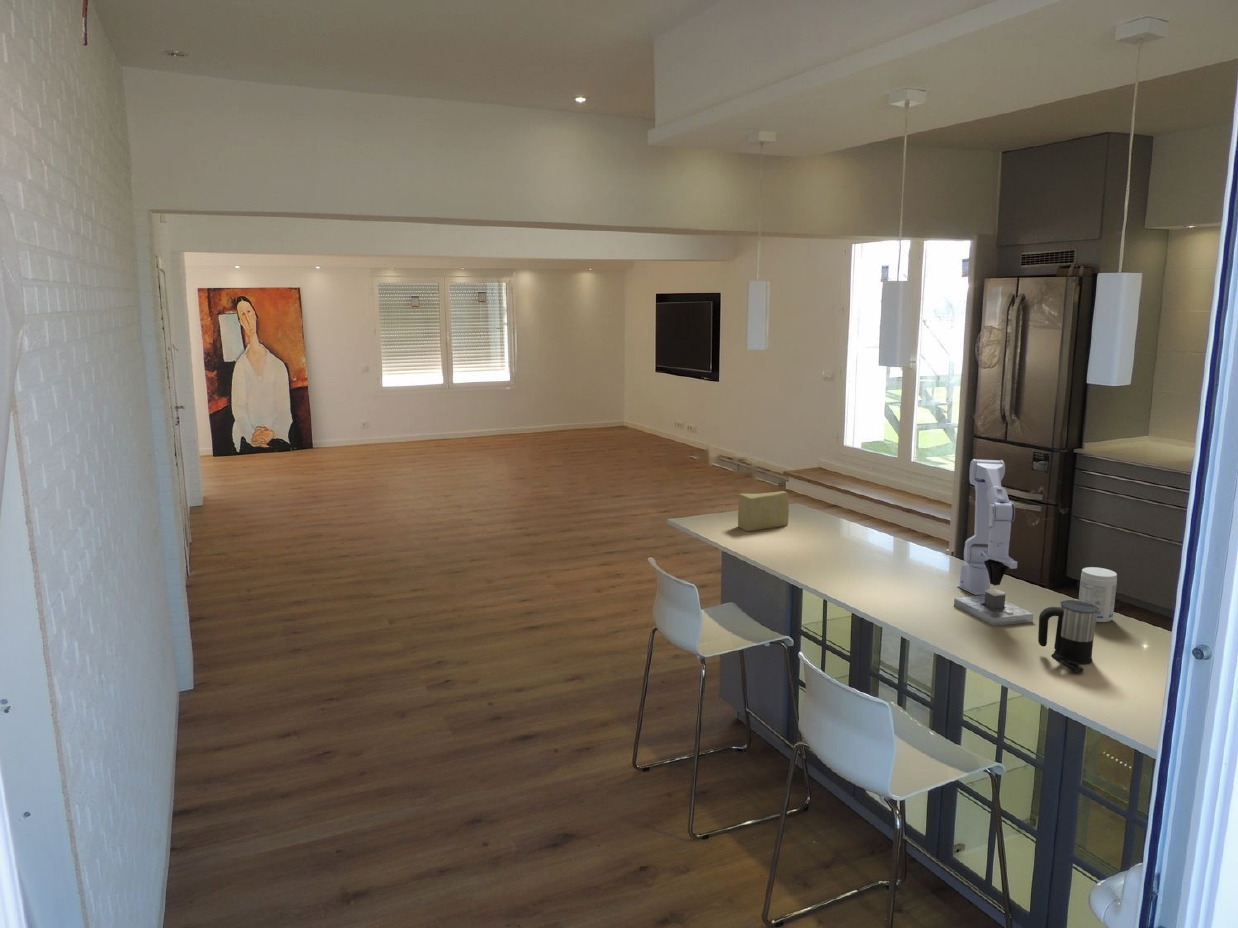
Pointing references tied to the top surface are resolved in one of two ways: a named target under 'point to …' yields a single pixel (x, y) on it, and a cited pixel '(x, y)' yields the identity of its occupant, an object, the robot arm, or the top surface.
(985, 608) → the socket plate
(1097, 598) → the supplement tub
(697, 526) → the top surface
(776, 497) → the cheese
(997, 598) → the plug
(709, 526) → the top surface
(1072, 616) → the milk frother
